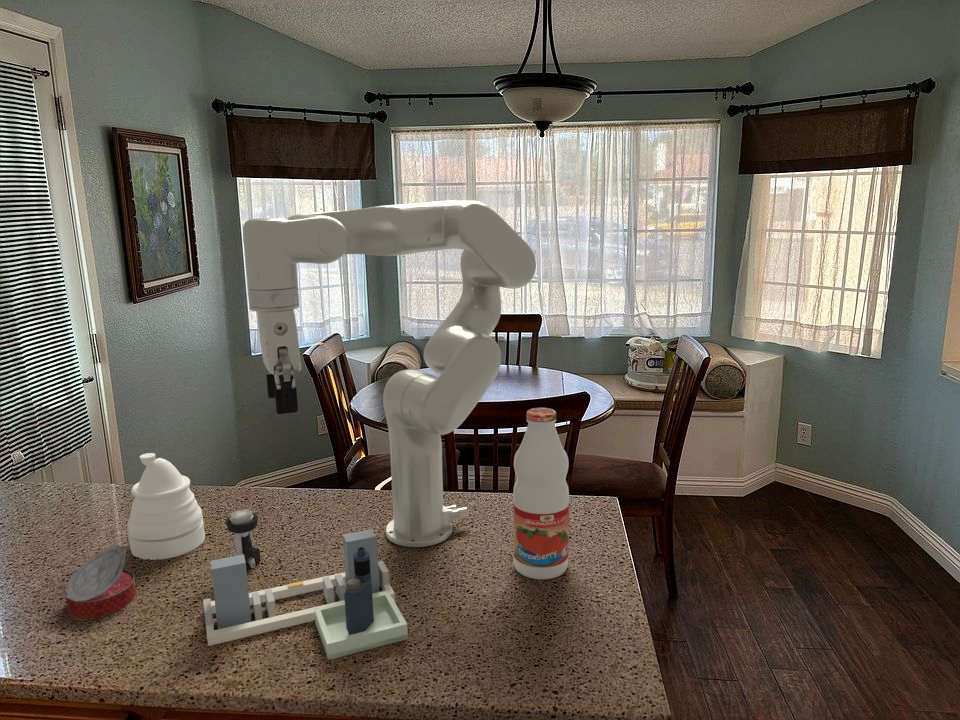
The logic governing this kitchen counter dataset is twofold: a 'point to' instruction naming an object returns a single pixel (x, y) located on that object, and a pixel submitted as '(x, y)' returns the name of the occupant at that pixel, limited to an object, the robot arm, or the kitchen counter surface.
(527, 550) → the fruit juice
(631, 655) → the kitchen counter surface
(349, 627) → the vaping device
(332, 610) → the tray
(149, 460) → the honey pot
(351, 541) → the rail
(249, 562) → the push button
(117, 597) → the canned food
